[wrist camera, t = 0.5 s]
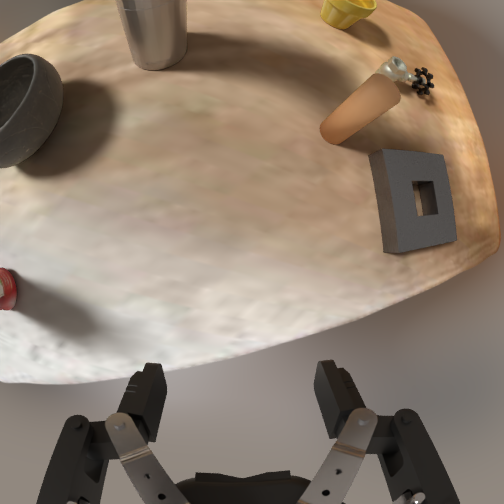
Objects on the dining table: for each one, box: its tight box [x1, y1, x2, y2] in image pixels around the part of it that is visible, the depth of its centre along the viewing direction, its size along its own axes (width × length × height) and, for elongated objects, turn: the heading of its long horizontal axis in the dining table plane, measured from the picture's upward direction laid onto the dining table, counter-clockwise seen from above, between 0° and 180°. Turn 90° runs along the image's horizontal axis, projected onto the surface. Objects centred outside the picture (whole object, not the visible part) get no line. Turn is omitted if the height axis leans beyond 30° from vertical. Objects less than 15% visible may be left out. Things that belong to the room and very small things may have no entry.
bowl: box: [0, 54, 63, 168], centre depth 24 cm, size 18×18×13 cm
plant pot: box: [320, 0, 377, 29], centre depth 34 cm, size 10×10×10 cm
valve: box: [375, 56, 434, 95], centre depth 38 cm, size 7×7×12 cm
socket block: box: [369, 149, 457, 253], centre depth 40 cm, size 16×16×4 cm
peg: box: [320, 73, 401, 144], centre depth 31 cm, size 4×4×15 cm
